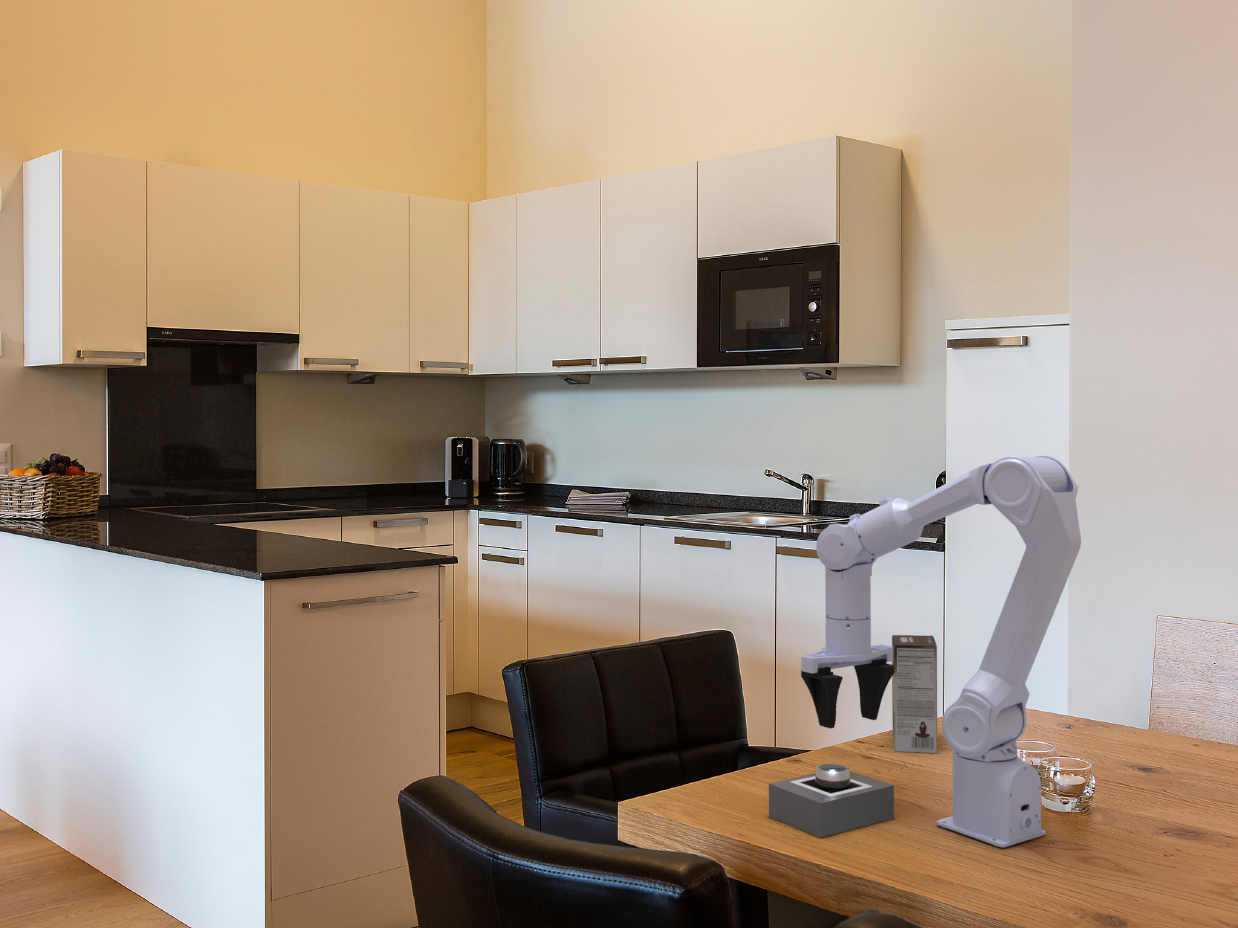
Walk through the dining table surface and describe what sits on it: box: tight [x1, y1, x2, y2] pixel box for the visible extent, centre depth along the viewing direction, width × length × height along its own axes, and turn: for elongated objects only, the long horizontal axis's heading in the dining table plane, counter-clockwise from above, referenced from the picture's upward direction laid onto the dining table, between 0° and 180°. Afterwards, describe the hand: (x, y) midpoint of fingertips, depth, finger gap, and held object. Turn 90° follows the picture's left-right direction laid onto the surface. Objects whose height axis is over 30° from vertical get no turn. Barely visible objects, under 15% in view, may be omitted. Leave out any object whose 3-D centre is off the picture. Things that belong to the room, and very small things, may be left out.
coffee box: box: [891, 634, 938, 754], centre depth 164 cm, size 9×6×16 cm
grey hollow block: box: [768, 770, 895, 838], centre depth 131 cm, size 9×12×4 cm
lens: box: [815, 763, 851, 794], centre depth 131 cm, size 4×4×6 cm
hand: (848, 722), depth 139 cm, fingers open, 7 cm apart
